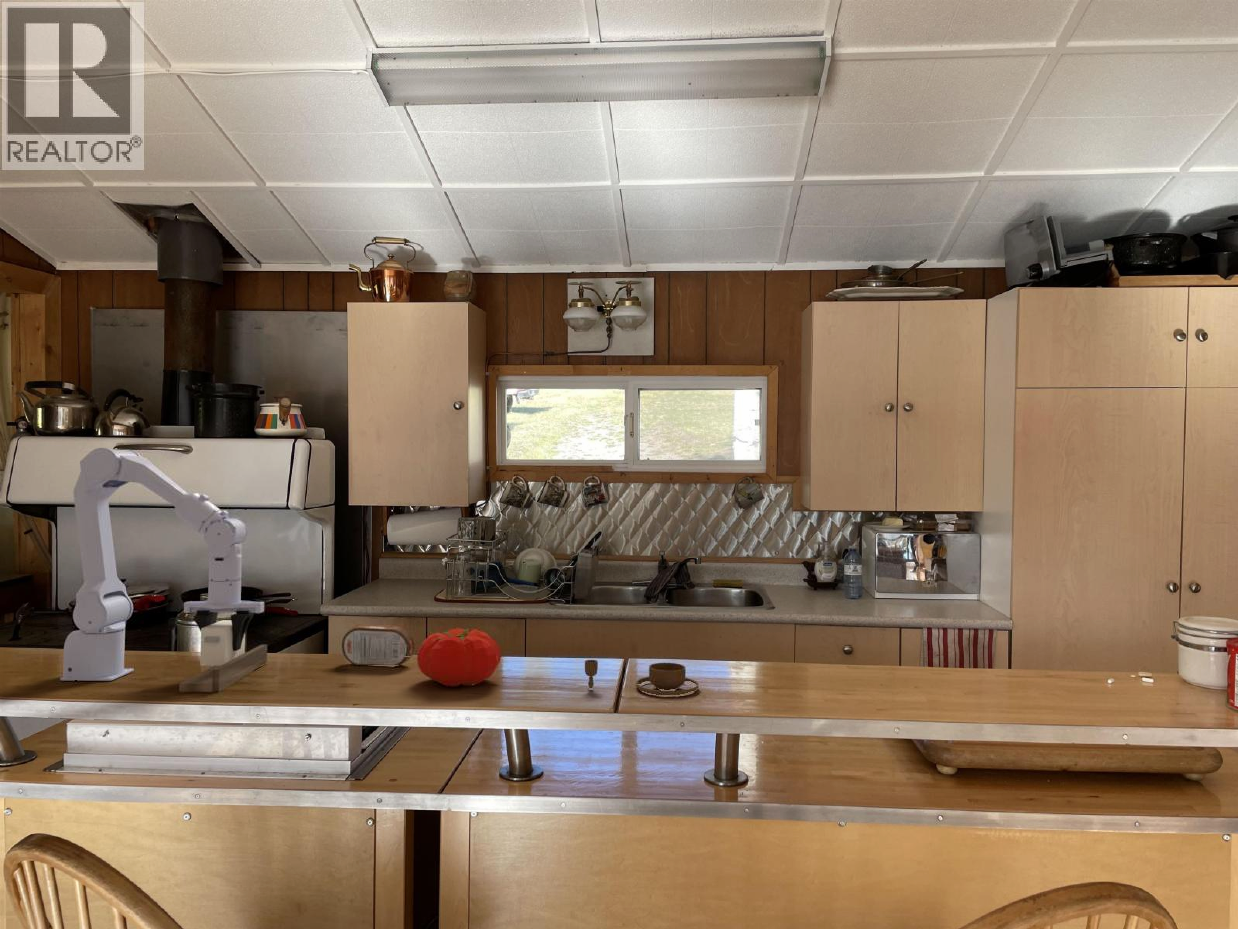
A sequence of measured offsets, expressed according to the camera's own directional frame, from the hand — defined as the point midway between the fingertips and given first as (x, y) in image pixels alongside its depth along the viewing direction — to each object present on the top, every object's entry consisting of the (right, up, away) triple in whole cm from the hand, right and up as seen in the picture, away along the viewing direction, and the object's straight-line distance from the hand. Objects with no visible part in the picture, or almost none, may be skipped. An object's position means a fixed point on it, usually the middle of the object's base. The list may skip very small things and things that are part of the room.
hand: (223, 649), depth 155 cm
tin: (+27, -6, +11) cm, 30 cm away
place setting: (+83, -7, -3) cm, 83 cm away
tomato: (+46, -6, -2) cm, 47 cm away
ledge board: (+1, -5, 0) cm, 5 cm away
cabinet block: (0, -2, 0) cm, 2 cm away
